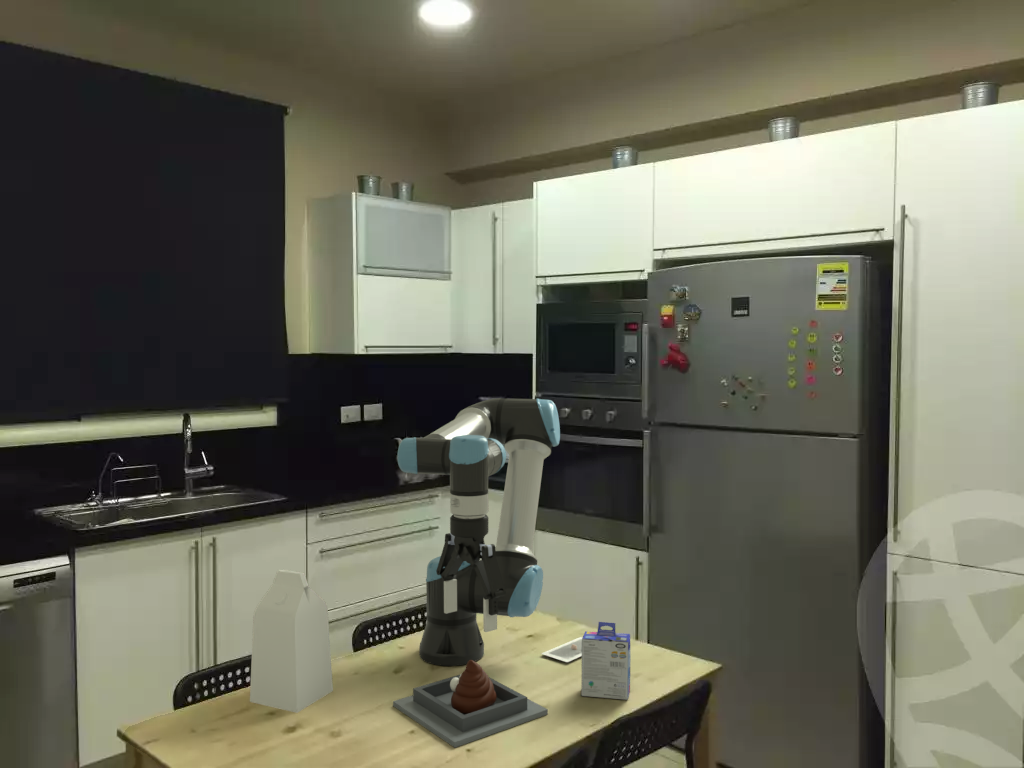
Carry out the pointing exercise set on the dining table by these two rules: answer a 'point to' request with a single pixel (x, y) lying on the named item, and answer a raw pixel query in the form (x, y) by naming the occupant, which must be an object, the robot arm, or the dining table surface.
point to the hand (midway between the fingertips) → (469, 621)
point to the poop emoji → (472, 689)
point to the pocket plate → (459, 728)
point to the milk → (290, 645)
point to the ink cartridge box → (606, 663)
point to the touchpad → (566, 650)
